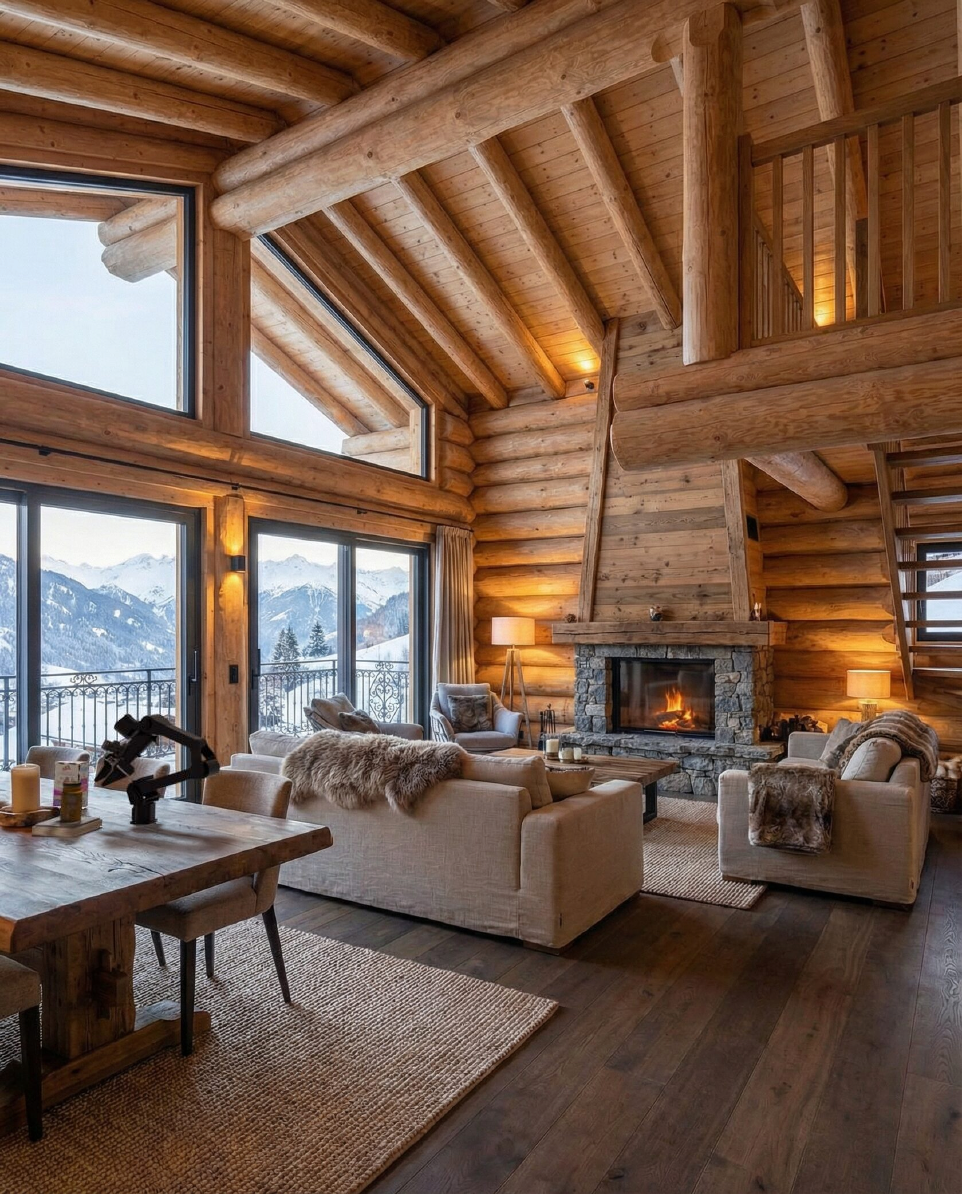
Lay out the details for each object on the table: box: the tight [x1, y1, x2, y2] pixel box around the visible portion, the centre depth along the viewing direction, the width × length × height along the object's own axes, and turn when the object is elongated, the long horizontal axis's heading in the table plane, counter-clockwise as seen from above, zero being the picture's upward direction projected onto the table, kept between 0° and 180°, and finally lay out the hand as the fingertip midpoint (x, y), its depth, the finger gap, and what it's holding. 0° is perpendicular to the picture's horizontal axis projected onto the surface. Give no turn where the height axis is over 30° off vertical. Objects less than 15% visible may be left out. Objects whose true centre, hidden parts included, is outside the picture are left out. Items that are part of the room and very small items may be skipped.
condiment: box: [53, 781, 87, 824], centre depth 255 cm, size 7×8×12 cm
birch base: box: [31, 816, 103, 838], centre depth 255 cm, size 14×14×3 cm
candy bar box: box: [52, 760, 90, 807], centre depth 287 cm, size 11×5×16 cm, turn 73°
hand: (98, 783), depth 261 cm, fingers open, 9 cm apart
